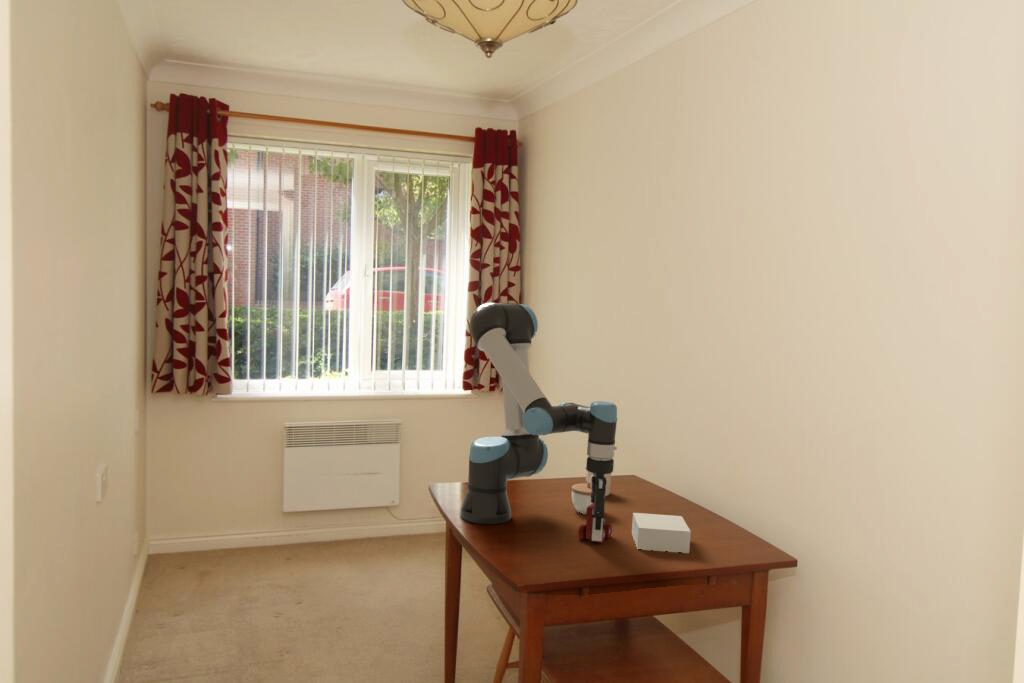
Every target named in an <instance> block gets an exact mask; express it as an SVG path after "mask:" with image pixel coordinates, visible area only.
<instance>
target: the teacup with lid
mask: <svg viewBox="0 0 1024 683" xmlns="http://www.w3.org/2000/svg"><path fill="white" fill-rule="evenodd" d="M585 471H586V472H585V482H584V483H588V482H590V483H591V484H592V481H591V478H592V476H593V473H591V472H589V471H587V469H586V468H585ZM604 477H606V480H607V482H606V493H605V497H607V496H609V495H610V494H611V482H612V473H610V474H604Z"/></svg>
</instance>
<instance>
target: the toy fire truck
mask: <svg viewBox="0 0 1024 683" xmlns="http://www.w3.org/2000/svg"><path fill="white" fill-rule="evenodd" d="M597 513H601V512H597ZM585 515H586V523H585V524H580V525H579V527H578V532H577V534H578V539H579V540H583V539H584V540H586V539H587V538H588V539H592V528H593V518H591V515H594V503H593V504H591V505H590V506H588V507H587V512H586V514H585ZM612 533H613V525H612V524H611V523H608V522H607V523H606V513H605V511H604V518H603V531H602V541H596V543H597V544H603V543H605V540H606V539H610V538H611V537H612ZM585 538H586V539H585Z"/></svg>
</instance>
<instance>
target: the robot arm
mask: <svg viewBox="0 0 1024 683" xmlns="http://www.w3.org/2000/svg"><path fill="white" fill-rule="evenodd" d="M469 329H470V330H469V332H470V334H471V335H470V336H471V338H472V341H473V342H474V343H475V345H476V347H477V349H478V350H479V351H481V352H484V353H485V354H486V356H487V358H488V359H489V361H490V362H491V364H492V365H493V366H494V368H495V370H496V372H497V373H498V374H499V376H500V378H501V384H502V394H503V395H502V396H503V407H504V408H503V409H504V420H505V421H504V423H505V428H504V429H505V430H504V431H503V432H502V433H501V436H495V435H494V436H493V435H492V436H485V437H479V438H478V439H475V440H474V441H473V442H472V443H471V444H470V448H469V454H468V477H467V478H468V479H467V491H466V494H465V497H464V500H463V502H462V504H461V507H460V518H461V519H463V520H464V521H466V522H469V523H474V524H480V525H499V524H505V523H507V522H509V521H510V520H511V518H512V509H511V505H510V500H509V497H508V494H507V493H508V492H507V491H508V490H507V489H508V488H507V487H508V486H507V485H508V480H512V479H517V478H524V477H527V478H529V477H531V476H533V475H537V474H539V473H541V471H543V469H544V468H545V467H546V465H547V462H548V458H549V452H548V451H549V450H548V447H547V445H546V443H545V441H544V439H542V438H540V436H546V435H551V434H558V433H559V434H560V433H568V432H569V433H570V432H580V433H584V434H587V435H588V437H587V439H588V440H587V449H586V450H587V451H586V455H587V457H586V466H585V470H586V469H587V471H589V472H591V473H593V476H592V478H591V481H592V491H591V504H593V503H594V515H591V518H593V528H592V538H591V541H592V542H597V541H602V531H603V518H604V512H605V501H606V500H605V499H606V496H605V490H606V482H607V480H606V477H604V474H610V473H611V474H612V473H613V472H614V464H615V460H614V457H615V451H616V450H618V447H617V446H615V443H616V432H617V431H616V430H617V421H618V406H617V405H616V404H615V403H614V402H609V401H602V400H600V401H598V400H597V401H595V400H594V401H592V402H591V403H590V406H588V405H587V406H586V405H582V404H577V403H575V402H566V401H565V402H561V403H559V404H558V405H552V404H551V403H550V401H549V400H548V398H547V397H546V395H545V393H544V392H543V390H541V387H540V386H539V385H538V383H537V382H536V380H535V379H534V377H533V376H532V374H531V372H530V371H529V360H528V359H529V358H528V356H529V355H528V350H529V348H530V347H531V346H532V339H533V338H534V337H535V336H536V333H537V331H538V319H537V316H536V314H535V311H534V310H532V308H531V307H529V305H527V304H522V303H516V302H514V303H512V302H508V303H507V302H486V303H483V304H481V305H479V306H478V307H476V309H475V310H474V311H473V313H472V315H471V317H470V321H469ZM597 512H601V513H597Z"/></svg>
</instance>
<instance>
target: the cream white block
mask: <svg viewBox="0 0 1024 683" xmlns="http://www.w3.org/2000/svg"><path fill="white" fill-rule="evenodd" d="M691 533H692V532H691V529H690V528H689V526H688V525H687V523H686V521H685V519H684V518H683V516H681V515H672V514H669V515H668V514H657V513H656V514H655V513H646V512H645V513H644V512H632V524H631V535H632V538H633V541H635V542H634V545H635V544H636V545H635V547H637V548H636V550H638V549H642V550H641V551H651V550H653V551H655V552H665V551H668V552H667V553H678V552H682V554H690V546H691V537H692V536H691V535H692V534H691Z"/></svg>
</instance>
